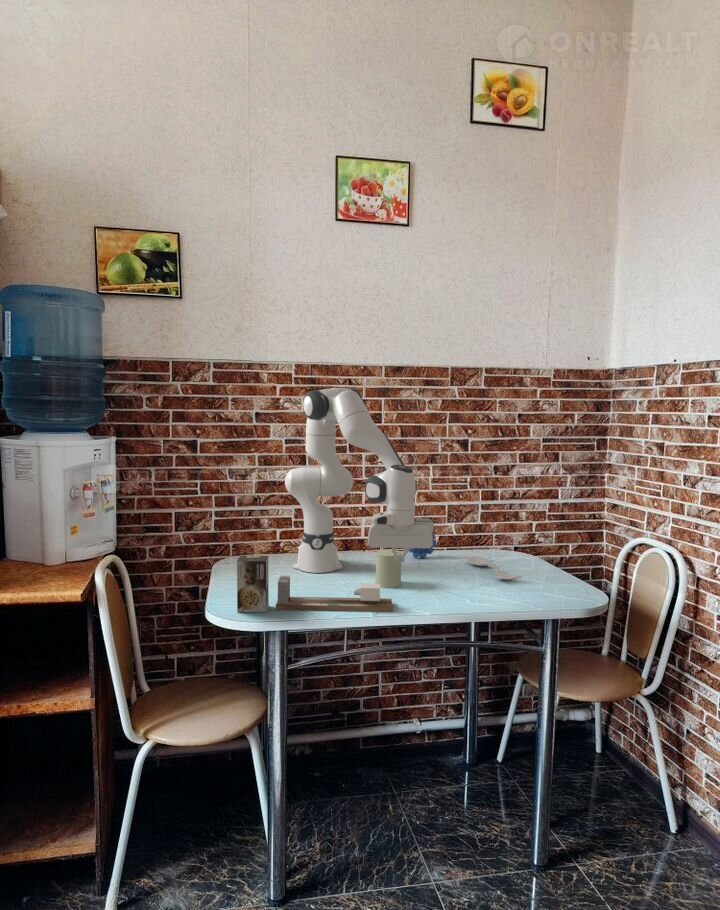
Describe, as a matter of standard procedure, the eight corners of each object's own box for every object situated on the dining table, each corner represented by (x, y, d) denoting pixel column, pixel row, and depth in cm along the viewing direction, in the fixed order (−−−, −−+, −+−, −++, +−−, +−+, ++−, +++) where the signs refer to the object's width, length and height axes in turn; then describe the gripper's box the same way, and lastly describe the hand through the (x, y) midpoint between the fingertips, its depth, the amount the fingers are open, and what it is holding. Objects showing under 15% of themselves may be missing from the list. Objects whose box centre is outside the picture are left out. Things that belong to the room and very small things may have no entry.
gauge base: (279, 601, 197) (279, 575, 196) (391, 603, 197) (391, 577, 196) (275, 609, 189) (276, 582, 188) (392, 611, 189) (393, 584, 188)
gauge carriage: (353, 597, 195) (354, 583, 195) (379, 597, 195) (379, 583, 195) (353, 604, 188) (354, 589, 188) (379, 604, 188) (380, 590, 188)
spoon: (499, 585, 219) (500, 576, 219) (462, 562, 250) (462, 554, 250) (522, 584, 222) (522, 574, 221) (482, 561, 252) (482, 553, 252)
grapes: (433, 555, 259) (434, 527, 258) (437, 559, 252) (438, 531, 251) (406, 555, 257) (407, 527, 256) (409, 560, 251) (410, 531, 250)
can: (402, 588, 212) (403, 554, 211) (376, 588, 212) (377, 554, 211) (399, 580, 222) (400, 548, 221) (373, 580, 221) (374, 548, 220)
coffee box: (269, 605, 192) (269, 555, 190) (266, 613, 185) (267, 560, 184) (239, 605, 192) (239, 554, 190) (236, 612, 185) (236, 560, 184)
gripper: (432, 516, 193) (431, 559, 194) (368, 515, 193) (367, 558, 194) (435, 520, 187) (434, 564, 188) (368, 518, 187) (367, 563, 188)
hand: (399, 561), depth 191 cm, fingers closed
